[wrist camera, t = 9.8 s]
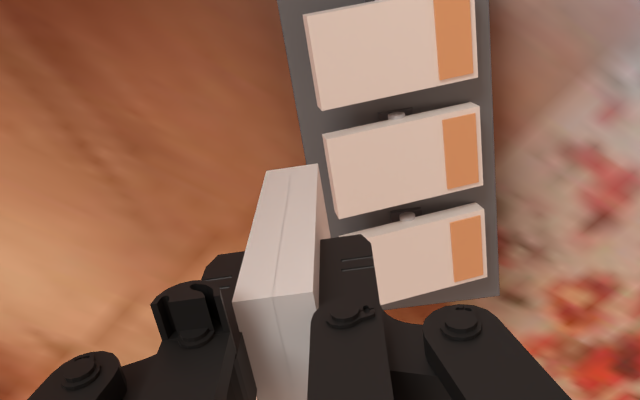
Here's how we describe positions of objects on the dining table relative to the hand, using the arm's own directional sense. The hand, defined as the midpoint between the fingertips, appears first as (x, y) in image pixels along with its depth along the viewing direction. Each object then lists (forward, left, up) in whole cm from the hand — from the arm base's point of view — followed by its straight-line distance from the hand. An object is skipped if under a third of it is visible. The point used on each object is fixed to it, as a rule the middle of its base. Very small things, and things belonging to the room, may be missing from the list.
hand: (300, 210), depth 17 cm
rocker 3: (+5, -16, -24) cm, 29 cm away
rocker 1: (+5, 0, -24) cm, 25 cm away
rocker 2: (+5, -8, -24) cm, 26 cm away
